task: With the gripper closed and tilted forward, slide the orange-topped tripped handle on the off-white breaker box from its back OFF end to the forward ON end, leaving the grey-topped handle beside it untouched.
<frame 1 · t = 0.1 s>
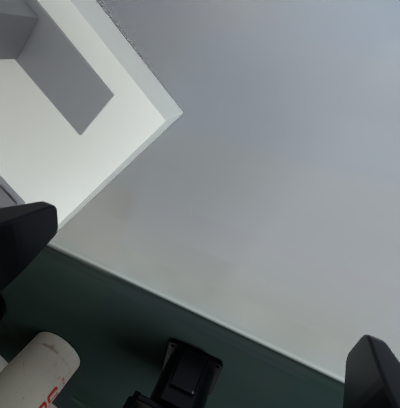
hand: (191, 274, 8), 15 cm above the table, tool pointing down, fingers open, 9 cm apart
breaker box: (44, 126, 26), on the table
thermos bottle: (59, 349, 45), on the table
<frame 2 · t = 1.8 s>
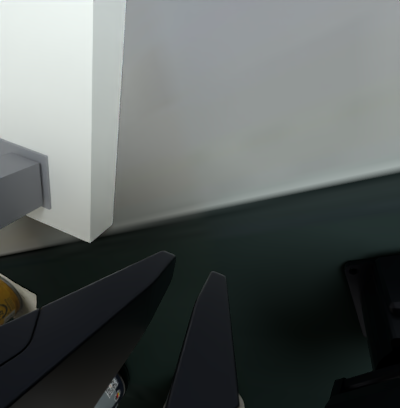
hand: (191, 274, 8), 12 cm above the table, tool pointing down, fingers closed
breaker box: (29, 57, 21), on the table
supplement container: (97, 358, 37), on the table
condiment: (11, 295, 37), on the table
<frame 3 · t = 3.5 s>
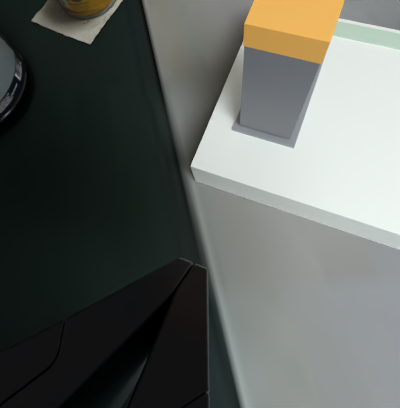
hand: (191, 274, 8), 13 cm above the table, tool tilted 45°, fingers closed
breaker box: (368, 141, 22), on the table
condiment: (85, 4, 30), on the table
tripped handle: (279, 76, 16), point 8 cm above the table, slide at 0.0 cm
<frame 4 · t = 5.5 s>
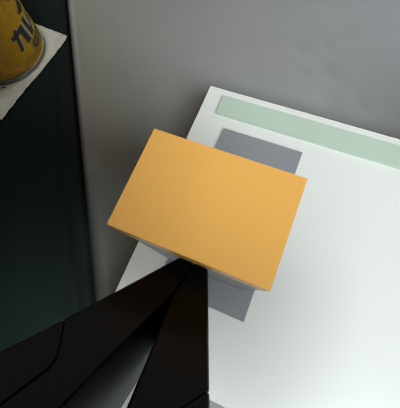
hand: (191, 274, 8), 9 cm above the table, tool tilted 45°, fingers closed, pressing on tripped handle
breaker box: (355, 285, 16), on the table
condiment: (5, 64, 24), on the table
tripped handle: (214, 236, 10), point 8 cm above the table, slide at 1.0 cm, touching gripper
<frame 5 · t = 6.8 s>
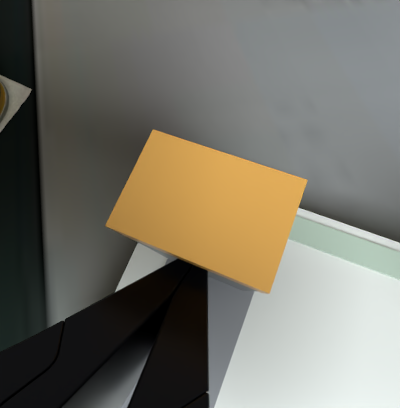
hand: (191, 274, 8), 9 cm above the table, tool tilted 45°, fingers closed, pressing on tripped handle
breaker box: (329, 386, 15), on the table
tripped handle: (214, 237, 10), point 8 cm above the table, slide at 6.4 cm, touching gripper
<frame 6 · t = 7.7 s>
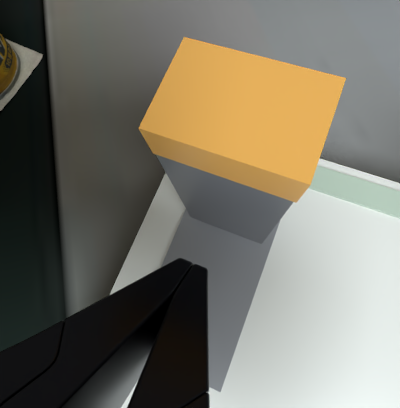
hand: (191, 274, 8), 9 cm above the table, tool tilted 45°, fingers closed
breaker box: (347, 337, 15), on the table
tripped handle: (236, 175, 10), point 8 cm above the table, slide at 6.0 cm
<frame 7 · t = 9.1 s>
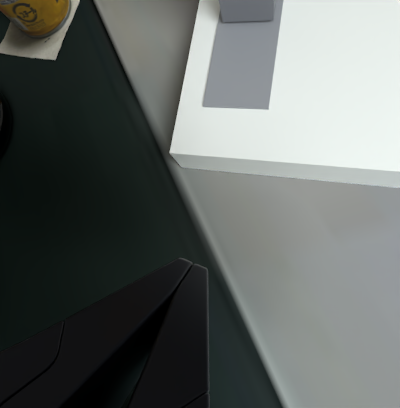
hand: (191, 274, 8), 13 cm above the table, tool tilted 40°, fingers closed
breaker box: (349, 83, 21), on the table
condiment: (43, 23, 30), on the table
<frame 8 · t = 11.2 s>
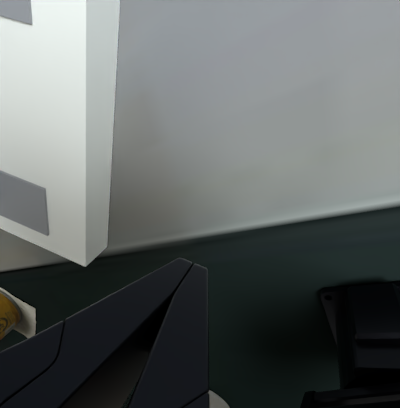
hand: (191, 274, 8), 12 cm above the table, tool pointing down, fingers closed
breaker box: (28, 95, 22), on the table
condiment: (11, 307, 39), on the table
thermos bottle: (200, 404, 33), on the table
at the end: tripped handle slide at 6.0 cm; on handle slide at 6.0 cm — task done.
